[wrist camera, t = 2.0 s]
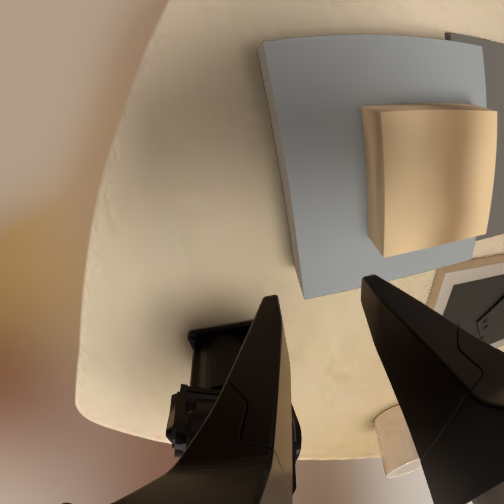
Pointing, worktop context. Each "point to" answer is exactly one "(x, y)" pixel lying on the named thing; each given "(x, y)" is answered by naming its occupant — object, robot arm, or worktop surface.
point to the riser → (353, 143)
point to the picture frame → (472, 297)
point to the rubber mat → (498, 99)
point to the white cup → (396, 443)
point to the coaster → (428, 173)
